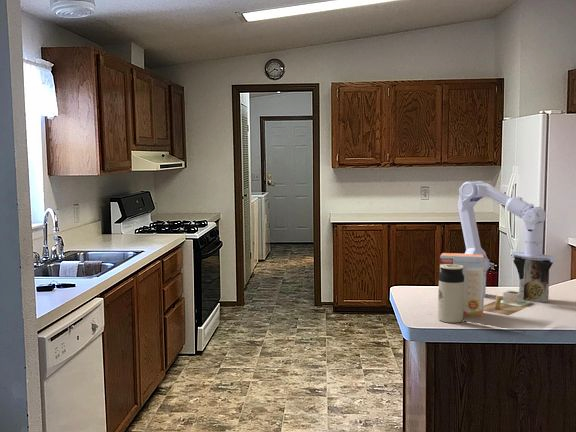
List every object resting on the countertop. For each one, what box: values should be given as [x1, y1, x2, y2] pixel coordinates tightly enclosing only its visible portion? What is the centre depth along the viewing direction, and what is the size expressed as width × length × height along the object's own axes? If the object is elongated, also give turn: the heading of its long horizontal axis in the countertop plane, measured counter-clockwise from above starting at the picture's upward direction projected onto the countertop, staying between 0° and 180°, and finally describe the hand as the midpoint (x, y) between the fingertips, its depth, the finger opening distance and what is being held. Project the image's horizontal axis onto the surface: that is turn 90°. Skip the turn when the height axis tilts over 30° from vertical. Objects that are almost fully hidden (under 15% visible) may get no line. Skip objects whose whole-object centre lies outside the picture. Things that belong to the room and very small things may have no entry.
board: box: [483, 295, 535, 316], centre depth 217 cm, size 12×22×6 cm, turn 137°
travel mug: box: [437, 264, 464, 324], centre depth 201 cm, size 8×8×18 cm
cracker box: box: [439, 252, 485, 318], centre depth 207 cm, size 14×6×21 cm, turn 69°
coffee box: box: [518, 257, 550, 303], centre depth 229 cm, size 9×6×16 cm
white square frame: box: [502, 290, 524, 305], centre depth 221 cm, size 5×5×4 cm
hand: (532, 280), depth 217 cm, fingers open, 7 cm apart
